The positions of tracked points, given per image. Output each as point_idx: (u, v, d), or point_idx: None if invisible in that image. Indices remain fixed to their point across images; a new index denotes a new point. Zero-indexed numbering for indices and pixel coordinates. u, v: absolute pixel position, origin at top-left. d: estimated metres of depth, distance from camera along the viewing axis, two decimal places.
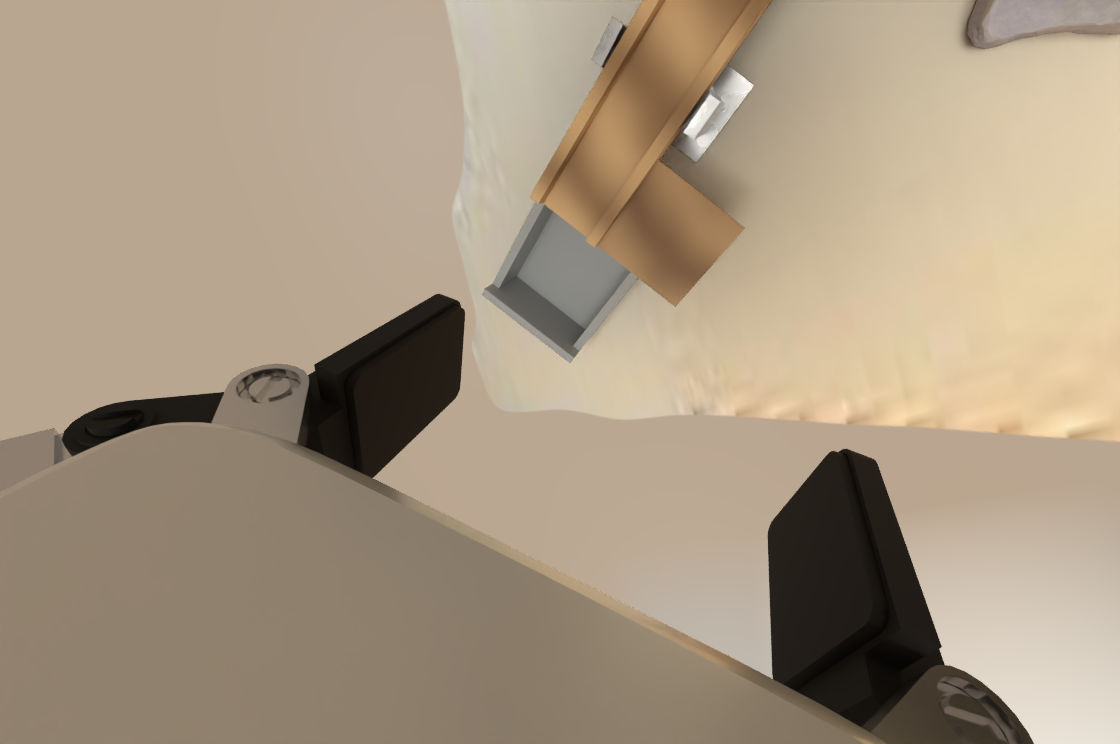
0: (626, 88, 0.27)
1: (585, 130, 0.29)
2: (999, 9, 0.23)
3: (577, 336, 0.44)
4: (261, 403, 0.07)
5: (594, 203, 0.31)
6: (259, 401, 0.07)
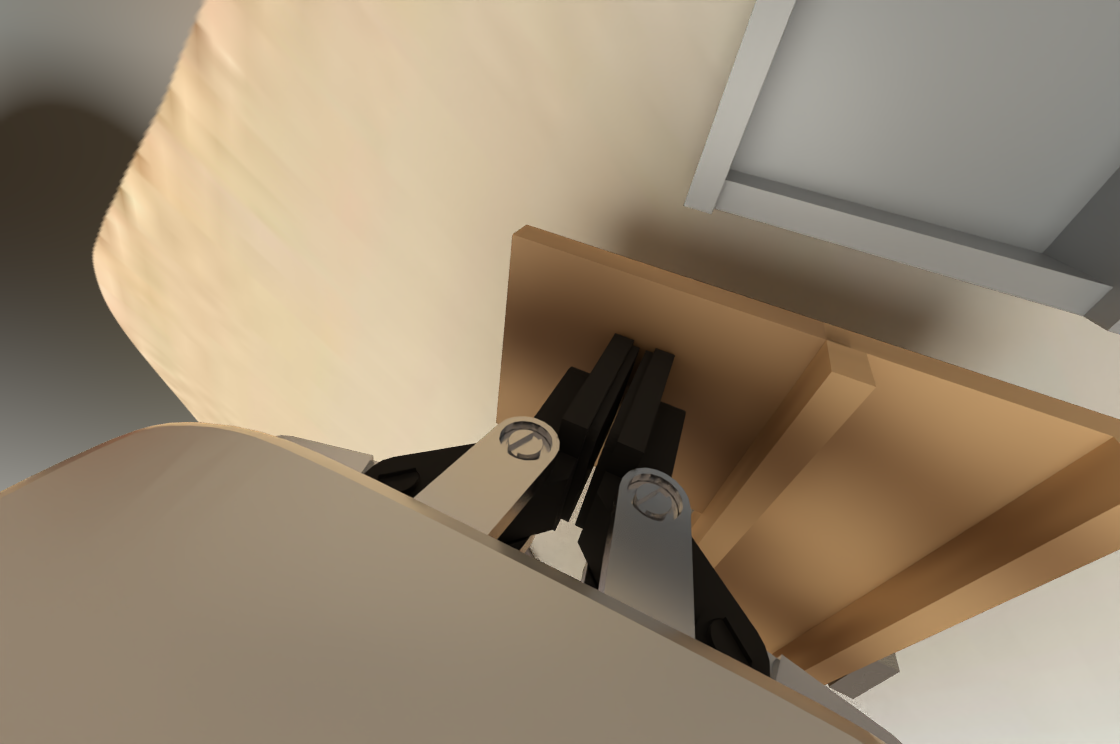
0: (807, 603, 0.14)
1: (907, 584, 0.11)
2: None
3: None
4: (509, 454, 0.07)
5: (859, 443, 0.10)
6: (511, 450, 0.07)
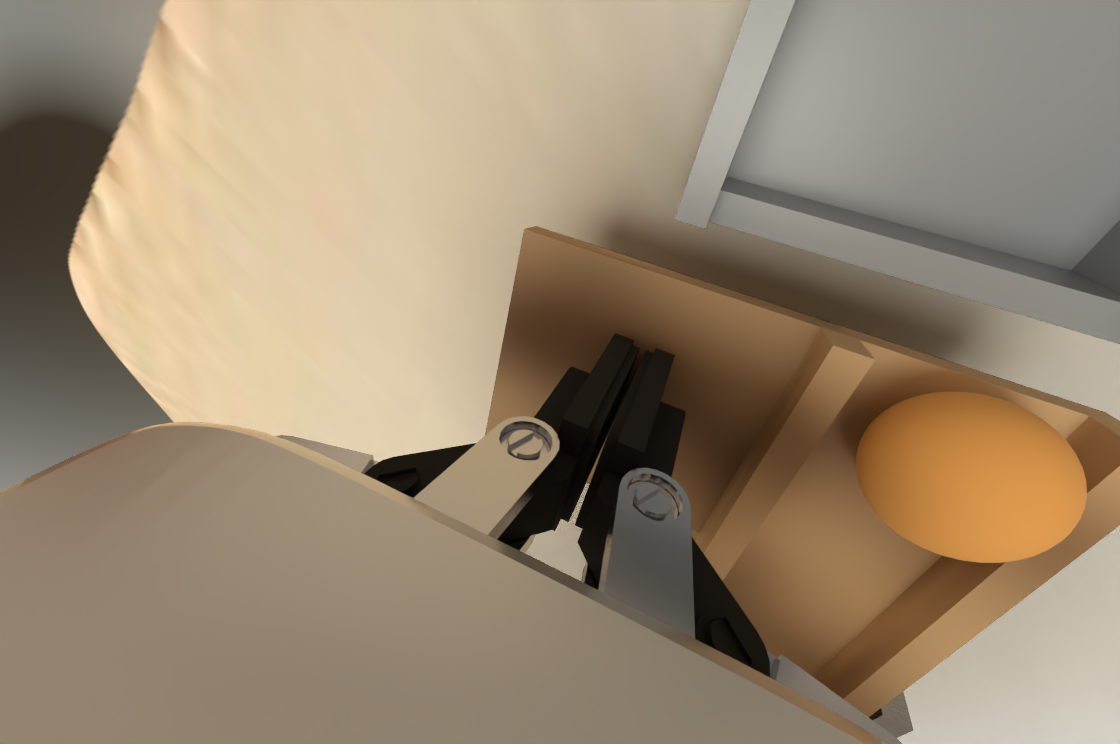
0: (811, 640, 0.13)
1: (916, 600, 0.11)
2: None
3: None
4: (509, 455, 0.07)
5: (857, 439, 0.10)
6: (511, 450, 0.07)
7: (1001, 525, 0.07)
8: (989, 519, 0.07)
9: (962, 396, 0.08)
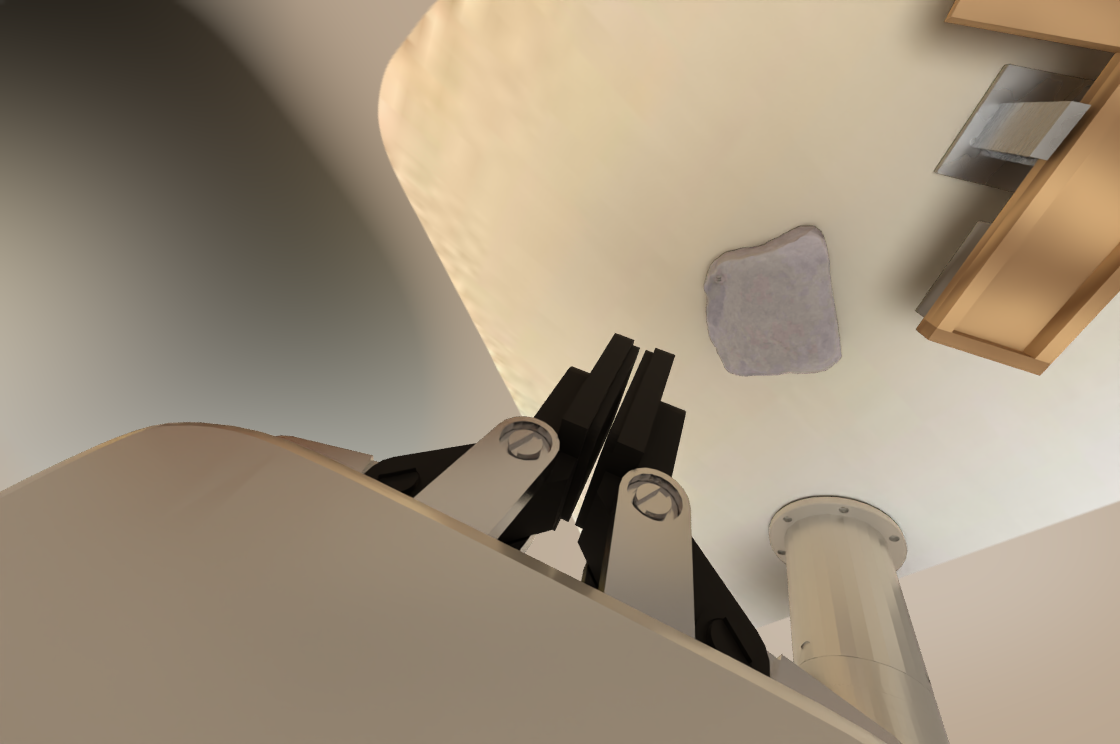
0: None
1: None
2: (821, 250, 0.31)
3: None
4: (509, 454, 0.07)
5: None
6: (511, 450, 0.07)
7: None
8: None
9: None
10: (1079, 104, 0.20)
